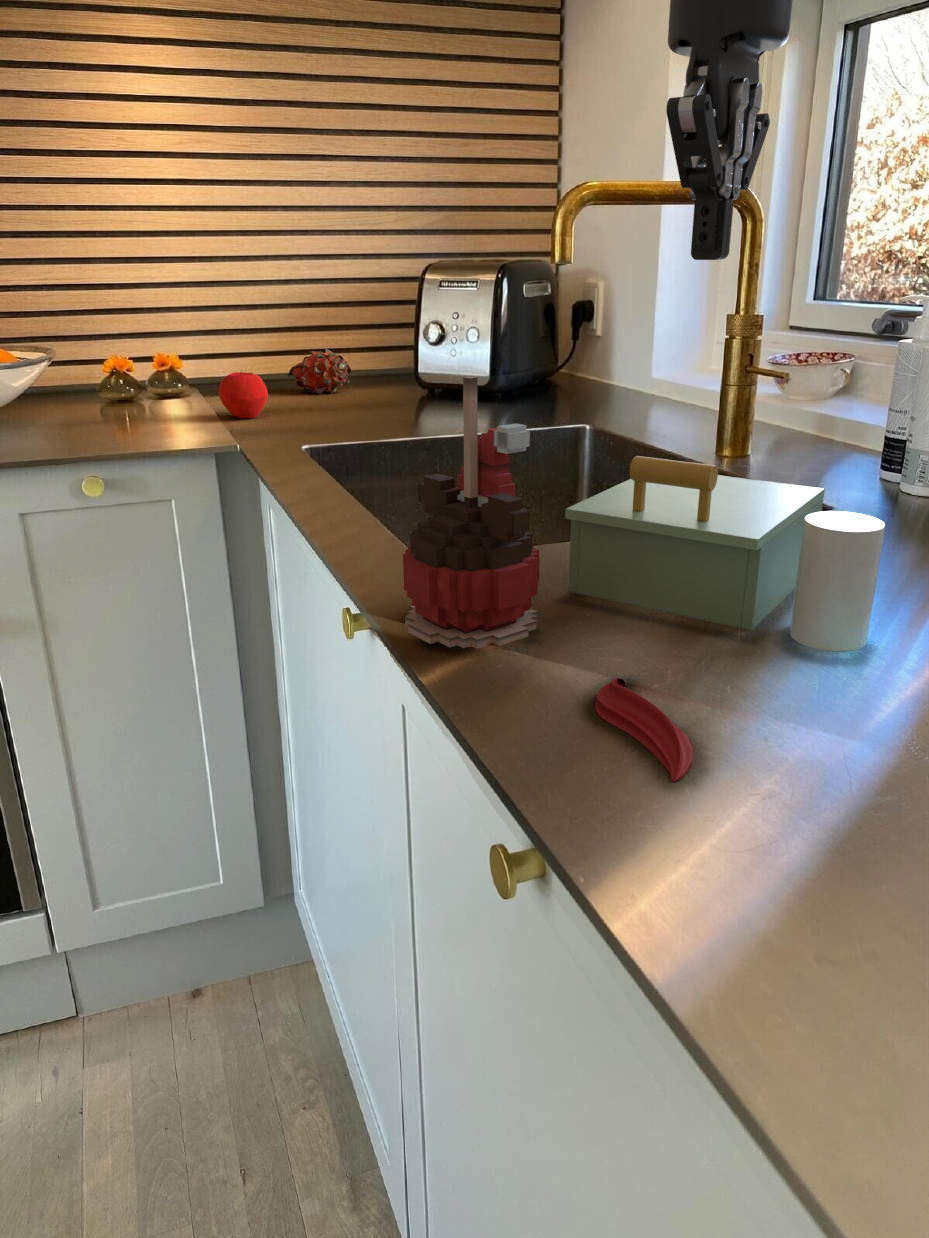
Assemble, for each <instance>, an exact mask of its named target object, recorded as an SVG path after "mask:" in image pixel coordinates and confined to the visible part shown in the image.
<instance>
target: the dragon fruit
mask: <svg viewBox="0 0 929 1238" xmlns="http://www.w3.org/2000/svg"><path fill="white" fill-rule="evenodd" d="M324 351H325V352H322V351H321V350H319V351H317V350H315V351H313V350H311V351H310V352H309V353H310V355H308V356H305V357H303V360H302V361H301V362H298V363H297V364H295V365H293V366H292V367H291V368H290V370H289V371H288V374H287V377H288V378H290V377H293V378H295V379H296V380H295V381H294V384H295V386H296V387H298V388H299V389H302V391H304V392H309V393H316V394H318V395H321V394H322V393H323V392H324V391H327V392H328V393H331V394H335V393H336V392H337V391H338V389H337V387H338V385H339V386H341V387H345V386H348V384H350V383H351V381H350V379H348V377H349V375H350V374H351V372H352V369H351V367H350V366H349V363H348V362H347V361H346V360H345V359H344V357H343V356H342V355H340V354H336V353H335V352H333V351H331V350H329V349H326V348H325V349H324Z"/></svg>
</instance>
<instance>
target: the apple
mask: <svg viewBox="0 0 929 1238" xmlns="http://www.w3.org/2000/svg"><path fill="white" fill-rule="evenodd" d="M266 385H267V384H265V382H264V380H263V379H262V378H261V377H260V376H259V375H258V374H256V373H254V372H242V371H241V370H240V371H236V372H235V371H234V372H231V373H229V374H228V375H227V374H226V376H224V377H223V378H222V380H221V381H220V384H219V385H218V396H219V400H220V402H221V404H222V405H223V406H224V408H226V410H227V411H228V412H229V413H230V414H231V415H232V416H233V417H235V418H239V419H255V418H257V417H258V416H259V415H260V414H261V413H262V411H263V409H264V407H265V405H266V404H267V402H268V401H267V400H268V398H269V393H268V392H269V391H268V388H267V386H266Z"/></svg>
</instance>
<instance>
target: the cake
mask: <svg viewBox="0 0 929 1238" xmlns="http://www.w3.org/2000/svg"><path fill="white" fill-rule="evenodd" d="M462 382H463V383H462V400H463V404H462V405H463V406H462V408H463V410H462V411H463V414H462V415H463V417H462V419H463V465H460V474H459V473H458V474H457V486H456V478H454V477H452V476H448V475H445V474H441V473H434V474H428V475H424V476H423V482H419V483H418V484H417V485H418V487H417V488H418V503H422V504H423V508H424V509H423V510H424V513H425V514H428V515H431V516H430V517H427V520H426V521H421V522H417V528H416V529H412V532H411V533H410V534H409V537H410V538H409V539H410V541H409V542H410V543H409V544H410V545H407V549H405V553H403V554H402V564H403V565H402V567H403V568H402V570H403V590H404V591H405V592H406V598H407V599H410V600H411V603H412V605H411V606H409V610H407V615H405V616H404V623H405V624H404V625H405V626H407V632H408V633H409V634H410V635H412V636H414V637H416V638H418V639H419V640H422V641H424V642H426V643H428V644H430V645H432V644H435V643H440V644H442V645H444V646H446V647H447V648H452V647H457V646H458V647H460V648H462V649H465V648H466V649H467V648H469V647H473V648H475V649H476V650H478V649H481V648H484V647H487V646H489V645H491V644H494V645H496V646H498V647H499V646H503V645H506V644H510V643H513V642H515V641H518V640H521V639H524V638H528V637H529V632H531V631H534V630H537V624H538V618H539V617H538V616H539V611H538V610H536V609H533V604H532V597H533V596H537V595H538V591H539V590H538V589H539V588H538V587H539V582H540V549H537V548H535V547H534V545H535V544H534V543H533V533H532V532H529V531H530V522H531V521H530V520H531V519H530V515H531V514H530V513H531V511H530V510H529V509H526V508H524V498H522V497H520V496H516V483H513V473H512V472H510V454H515V453H516V454H517V453H521V452H526V451H527V448H528V447H530V446H531V445H530V444H531V443H530V441H531V432H530V430H527V427H528V426H527V425H526V424H521V423H510V424H504V425H498V426H497V427H493V428H487V431H484V432H481V434H480V435H481V436H479V434H478V433H479V432H478V429H479V427H478V422H479V421H478V420H479V419H478V418H479V417H478V415H479V414H478V408H479V407H478V406H479V405H478V377H477V376H472V375H471V376H464V377H462Z"/></svg>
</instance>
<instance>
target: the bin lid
mask: <svg viewBox="0 0 929 1238" xmlns="http://www.w3.org/2000/svg"><path fill="white" fill-rule="evenodd" d="M629 477H630V478H629V479H627V480H624V481H623V482H621V483H619V484H616V485H614V486H612V487H610V488H608V489H605V490H603V491H601V492H599V493H596V494H595V495H592V496H590V497H588V498H586V499H584V500H581V501H579V502H576V503H575V504H573V505H570V506H568V507H567V508H565V516H564V517H565V519H566V520H570V521H571V520H576V521H582V522H588V523H594V524H600V525H606V526H612V527H618V528H624V529H630V530H636V531H642V532H648V533H654V534H660V535H666V536H672V537H678V538H684V539H690V540H696V541H702V542H708V543H714V544H720V545H726V546H732V547H738V548H744V549H750V550H758V549H759V548H760V547H762V546H763V545H764V544H766V543H767V542H768V541H769V540H771V539H772V538H773V537H774V536H776V535H777V534H778V533H780V532H781V531H782V530H783V529H785V528H786V527H787V526H789V525H790V524H791V523H792V522H794V521H795V520H796V519H797V518H799V517H800V516H801V515H803V514H804V513H805V512H806V511H808V510H809V509H810V508H811V507H813V506H814V505H815V504H817V503H818V502H819V501H820V500H822V499H823V500H824V497H825V491H826V489H825V488H823V487H815V486H807V485H799V484H790V483H783V482H775V481H767V480H761V479H760V480H759V479H751V478H744V477H737V476H730V475H729V476H728V475H720V474H719V469H718V466H717V465H715V464H709V463H708V464H707V463H701V462H700V463H699V462H692V461H682V460H673V459H667V458H666V459H665V458H657V457H649V456H643V455H641V456H640V455H635V456H634V457H633V458H632V460H631V462H630V467H629Z"/></svg>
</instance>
